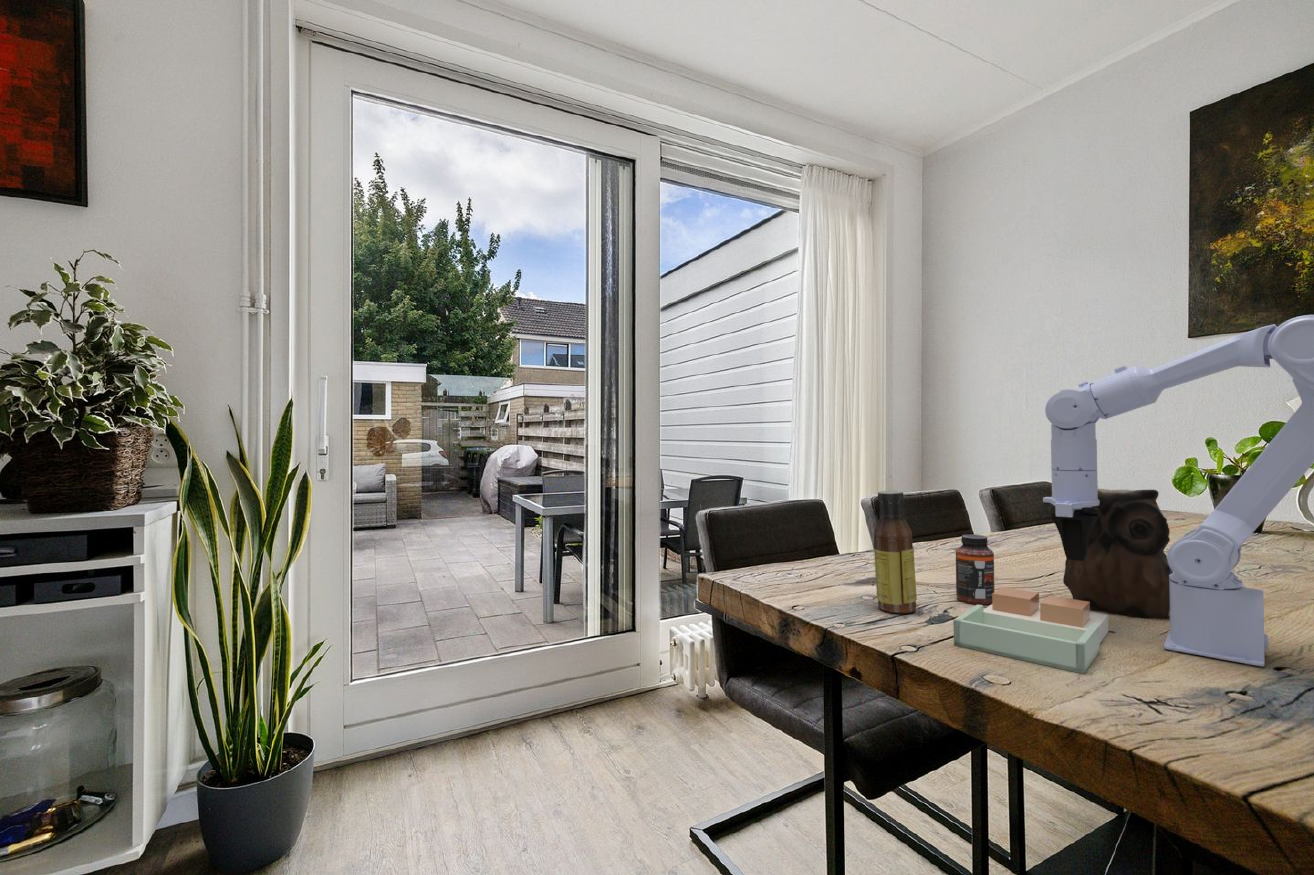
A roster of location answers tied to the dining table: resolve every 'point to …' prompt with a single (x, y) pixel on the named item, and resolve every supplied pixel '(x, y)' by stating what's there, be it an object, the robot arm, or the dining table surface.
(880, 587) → the sauce bottle
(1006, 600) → the tile
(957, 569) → the supplement bottle
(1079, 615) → the tile
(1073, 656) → the tray
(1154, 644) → the dining table surface
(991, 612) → the board
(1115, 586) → the owl
